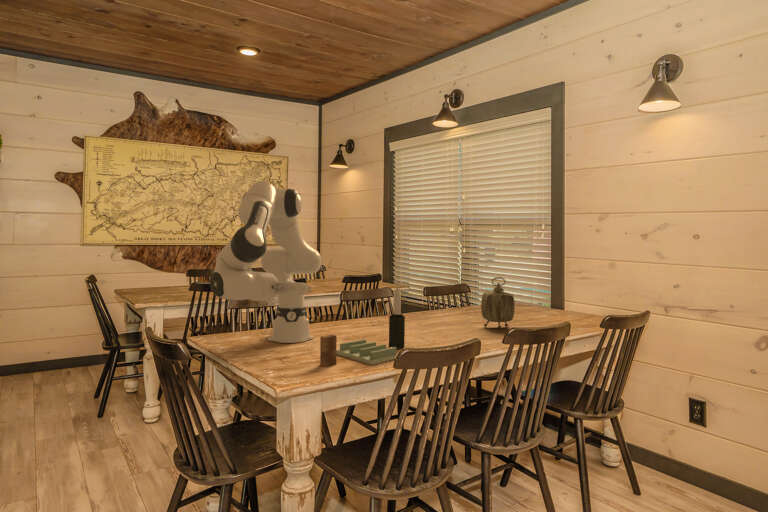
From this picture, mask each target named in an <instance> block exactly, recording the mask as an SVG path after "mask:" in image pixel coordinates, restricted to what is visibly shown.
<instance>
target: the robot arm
mask: <svg viewBox="0 0 768 512" xmlns="http://www.w3.org/2000/svg"><path fill="white" fill-rule="evenodd" d="M301 209H302V198H301V193H299V192H298V191H297V190H296V189H292V188H287V189H286V188H279V187H278V188H277V187H275V185H273V184H271V183H270V182H268V181H265V180H260V181H259V180H258V181H256V182H254V183H253V184H252V185H251V186H250V187H249V188H248V189H247V191H246V192H244V194H243V196H242V198H241V202H240V203H239V207H238V210H237V211H238V212H237V217H238V218H239V220H240V222H241V223H242V224H243V226H242V227H240V228H239V229H238V230H237V231H236V232H235V233H234V234H233V236H232V238H230V240H229V241H228V242H227V243H226V244H225V246H223V248H222V249H221V250H220V251H219V252H218V254H217V255H216V258H215V259H214V260H215V261H214V262H215V268H214V271H213V272H212V273H211V275H210V278H209V287H210V290H211V292H212V294H213V295H214V296H215V297H217V298H220V299H222V300H228V301H229V300H230V301H245V300H250V301H252V302H253V301H255V302H270V301H271V300H272V299H274V298H275V297H276V296H277V306H276V318H275V319H274V320H273V321H272V334H271V335H270V336H269V337H268V338H267V341H270V342H275V343H276V342H277V343H282V344H284V343H285V344H293V343H302V342H303V343H304V342H306V341H309V340H314V335H312V334H310V320H309V319H308V318H307V316H306V310H307V309H306V306H305V295H306V294H307V293H311V292H312V291H311V290H312V286H310V285H307V283H305V282H296V281H294V279H293V277H292V275H310V274H315V273H318V272H319V270H320V269H321V266H322V261H323V260H322V256H321V254H320V252H319V251H318V250H317V249H315V248H313V247H312V246H311V245H309V244H308V243H307V242H306V241H305V239H304V238H303V236H302V234H301V230H300V227H299V221H298V215H299V214H300V212H301V211H302V210H301ZM268 226H269V228H270V233H271V236H272V240H273V241H274V243H275V244H276V245H278V246H279V247H274V248H270V249H267V245H268V244H267V237H266V236H267V230H268ZM258 260H260V265H261V267H262V270H264V271H265V272H264V271H254V270H252V266H253V264H254V263H256V262H257V261H258Z"/></svg>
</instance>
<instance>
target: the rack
mask: <svg viewBox="0 0 768 512" xmlns="http://www.w3.org/2000/svg"><path fill="white" fill-rule="evenodd" d="M397 354H398V349H397V347H392V348H389V347H388V348H387V344H383V343H382V344H378V345H377V341H370V342H367V339H365V338H363V339H358V340H353V341H346V342H342V343H339V349H336V355H338V356H342V357H345V358H347V357H348V359H350V358H351V359H350V360H354V359H355V360H354V361H357V360H358V361H357V362H360V361H361V362H360V363H363V362H364V364H368V365H370V364H371V365H370V366H373V365H372V364H374V365H378V364H381V362H382V363H385V361H387V362H390V361H389V360H391V361H394V360H393V359H395V357H396V355H397ZM395 360H396V359H395ZM377 363H378V364H377Z"/></svg>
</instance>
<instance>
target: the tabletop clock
mask: <svg viewBox="0 0 768 512" xmlns="http://www.w3.org/2000/svg"><path fill="white" fill-rule="evenodd" d="M496 279H497V280H502V281H504V283H502V284H500V283H499V282H497V284H496V283H494V280H496ZM491 280H492V281H491V284H492V285H493V286H495V287H494V288H493V289H492V290H491V291H490V290H489V291H485V292H483V293H482V297H481V304H480V308H481V311H480V313H481V316H482V318H483V319H484V320H487V321H486V323H484V324H483V327H484V326H487V327H488V324H489V323H490V322H491V323H498V325H497V329H498V328H501V329H502V326H501V323H504V327H505V326H507V327H508V326H509V324H508V322H511V321H513V319H514V316H515V309H516V306H515V305H516V304H515V297H514V295H513V294H511V293H510V292H505V291H504V288H503V287H502V286H504V285H505V284H506V280H505V278H504V277H501V276H499V277H494V278H493V279H491Z"/></svg>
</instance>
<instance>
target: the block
mask: <svg viewBox="0 0 768 512" xmlns="http://www.w3.org/2000/svg"><path fill="white" fill-rule="evenodd" d="M337 336H338V335H335V334H327V335H322V336H320V341H319V342H320V347H319V349H320V355H319V356H320V357H319V358H320V359H319V361H320V362H319V363H320V364H319V365H320V366H321V365H322V367H324V366H325V367H328V366H329V365H330V366H333V365H334V364H335V365H337V354H336V350H337V341H338V340H337V339H338V338H337Z"/></svg>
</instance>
